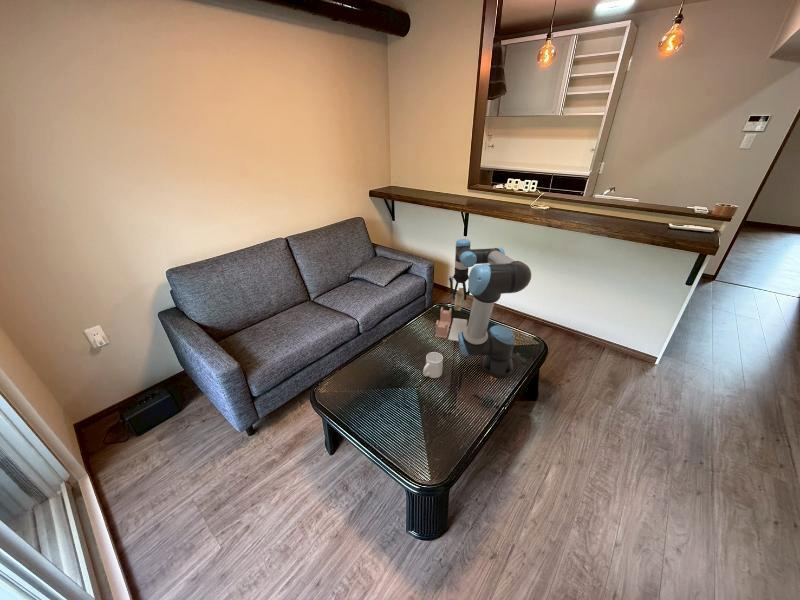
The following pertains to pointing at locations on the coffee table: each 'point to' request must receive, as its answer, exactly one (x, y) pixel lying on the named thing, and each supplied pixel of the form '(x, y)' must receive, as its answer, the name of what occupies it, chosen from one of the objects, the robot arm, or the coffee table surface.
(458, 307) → the rail
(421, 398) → the coffee table surface
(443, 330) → the stand
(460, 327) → the mat
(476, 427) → the coffee table surface
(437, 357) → the mug
